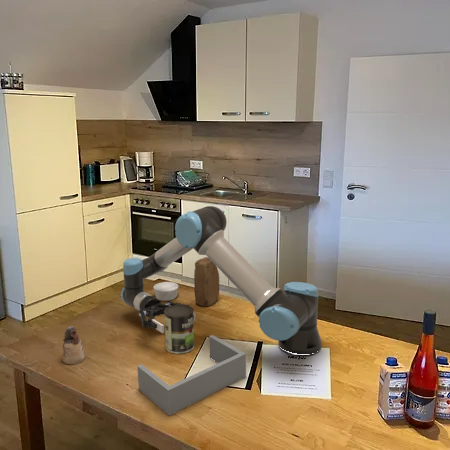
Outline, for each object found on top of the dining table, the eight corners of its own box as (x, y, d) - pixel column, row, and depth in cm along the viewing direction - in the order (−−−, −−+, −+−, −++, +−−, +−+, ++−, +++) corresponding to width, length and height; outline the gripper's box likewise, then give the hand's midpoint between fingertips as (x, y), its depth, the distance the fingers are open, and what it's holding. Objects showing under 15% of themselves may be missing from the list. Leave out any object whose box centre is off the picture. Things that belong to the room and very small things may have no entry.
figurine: (79, 351, 162) (75, 320, 159) (89, 359, 157) (85, 326, 154) (59, 359, 157) (55, 327, 154) (69, 367, 152) (65, 334, 149)
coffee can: (200, 344, 166) (199, 308, 163) (182, 357, 158) (181, 319, 154) (177, 337, 171) (176, 301, 168) (159, 349, 163) (157, 312, 159)
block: (206, 308, 195) (205, 264, 190) (192, 304, 200) (191, 260, 195) (222, 300, 204) (221, 257, 199) (209, 296, 208) (208, 254, 203)
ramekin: (177, 302, 203) (176, 290, 201) (152, 302, 203) (151, 291, 202) (180, 292, 214) (179, 281, 212) (156, 292, 214) (155, 281, 212)
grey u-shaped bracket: (138, 389, 140) (137, 365, 138) (213, 356, 158) (212, 334, 156) (169, 415, 127) (168, 390, 125) (245, 376, 146) (245, 353, 144)
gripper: (174, 304, 186) (207, 322, 171) (119, 323, 171) (149, 344, 155) (174, 287, 184) (207, 303, 169) (117, 304, 169) (148, 324, 153)
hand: (179, 323), depth 162 cm, fingers open, 13 cm apart
